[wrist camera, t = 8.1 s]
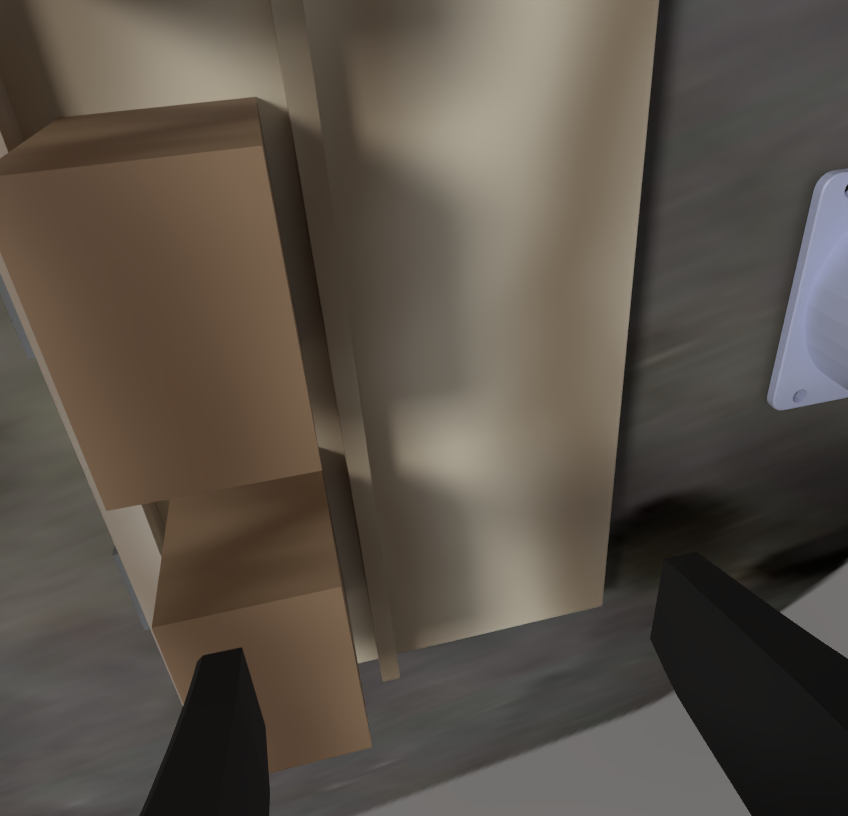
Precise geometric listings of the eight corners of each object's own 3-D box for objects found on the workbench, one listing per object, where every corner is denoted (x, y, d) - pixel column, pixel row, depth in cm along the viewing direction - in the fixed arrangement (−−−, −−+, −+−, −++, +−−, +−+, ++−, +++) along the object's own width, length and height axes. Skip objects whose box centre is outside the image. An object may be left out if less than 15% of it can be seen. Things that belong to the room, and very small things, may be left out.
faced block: (318, 447, 20) (341, 586, 15) (345, 594, 23) (372, 747, 18) (168, 474, 19) (144, 629, 14) (218, 622, 22) (212, 787, 18)
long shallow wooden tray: (676, -546, 12) (761, -652, 10) (588, 582, 27) (616, 630, 25) (-301, -575, 10) (-438, -720, 8) (192, 673, 25) (187, 734, 23)
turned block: (255, 96, 15) (262, 145, 10) (301, 347, 18) (322, 470, 13) (51, 117, 14) (-41, 180, 10) (136, 373, 17) (98, 512, 13)
